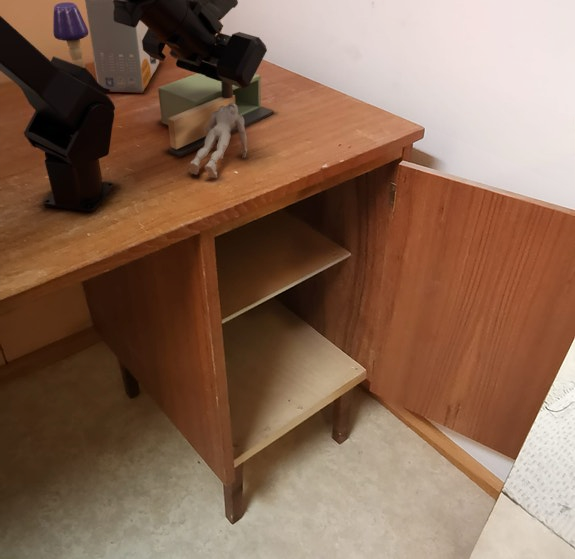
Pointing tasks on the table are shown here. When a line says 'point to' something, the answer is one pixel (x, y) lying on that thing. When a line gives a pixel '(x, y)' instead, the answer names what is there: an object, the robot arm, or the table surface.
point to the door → (197, 119)
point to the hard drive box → (118, 50)
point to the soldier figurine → (220, 137)
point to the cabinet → (205, 90)
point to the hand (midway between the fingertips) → (233, 79)
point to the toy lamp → (70, 29)
